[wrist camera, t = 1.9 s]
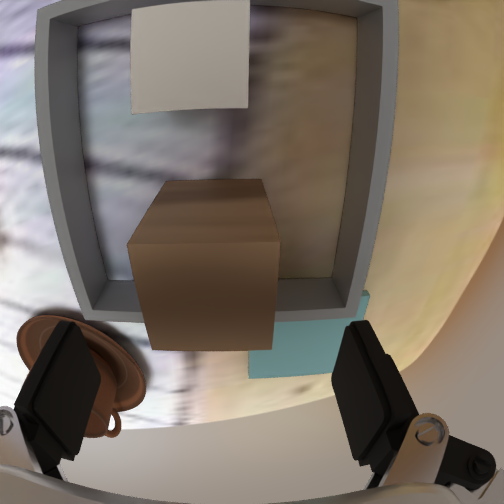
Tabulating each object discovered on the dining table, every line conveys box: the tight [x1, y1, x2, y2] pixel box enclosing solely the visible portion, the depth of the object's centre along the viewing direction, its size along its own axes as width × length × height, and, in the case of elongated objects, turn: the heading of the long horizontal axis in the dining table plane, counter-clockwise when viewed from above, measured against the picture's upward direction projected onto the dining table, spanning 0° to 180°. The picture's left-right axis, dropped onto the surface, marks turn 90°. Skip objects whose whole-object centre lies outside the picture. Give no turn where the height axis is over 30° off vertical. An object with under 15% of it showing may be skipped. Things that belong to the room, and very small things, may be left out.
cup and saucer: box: [17, 315, 146, 438], centre depth 20 cm, size 12×12×6 cm
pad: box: [248, 291, 370, 379], centre depth 22 cm, size 8×8×1 cm
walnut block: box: [127, 179, 281, 351], centre depth 14 cm, size 5×5×7 cm
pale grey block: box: [130, 0, 250, 114], centre depth 11 cm, size 4×4×5 cm
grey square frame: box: [35, 0, 399, 323], centre depth 14 cm, size 17×16×3 cm
